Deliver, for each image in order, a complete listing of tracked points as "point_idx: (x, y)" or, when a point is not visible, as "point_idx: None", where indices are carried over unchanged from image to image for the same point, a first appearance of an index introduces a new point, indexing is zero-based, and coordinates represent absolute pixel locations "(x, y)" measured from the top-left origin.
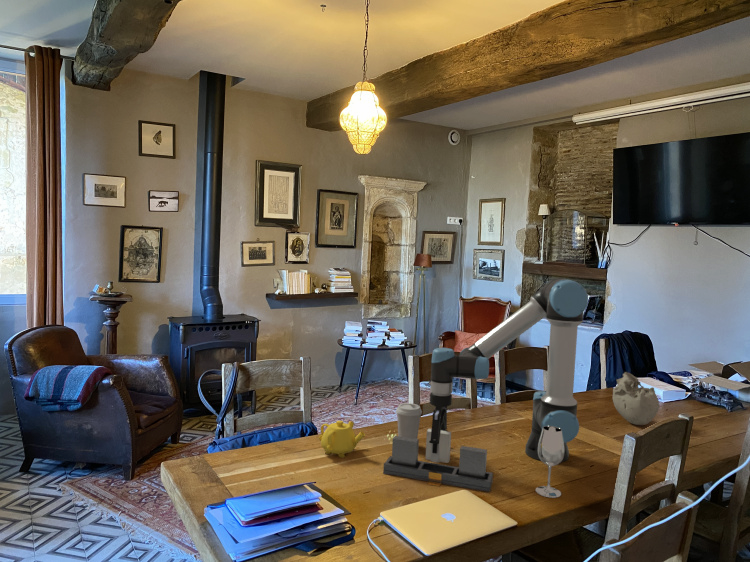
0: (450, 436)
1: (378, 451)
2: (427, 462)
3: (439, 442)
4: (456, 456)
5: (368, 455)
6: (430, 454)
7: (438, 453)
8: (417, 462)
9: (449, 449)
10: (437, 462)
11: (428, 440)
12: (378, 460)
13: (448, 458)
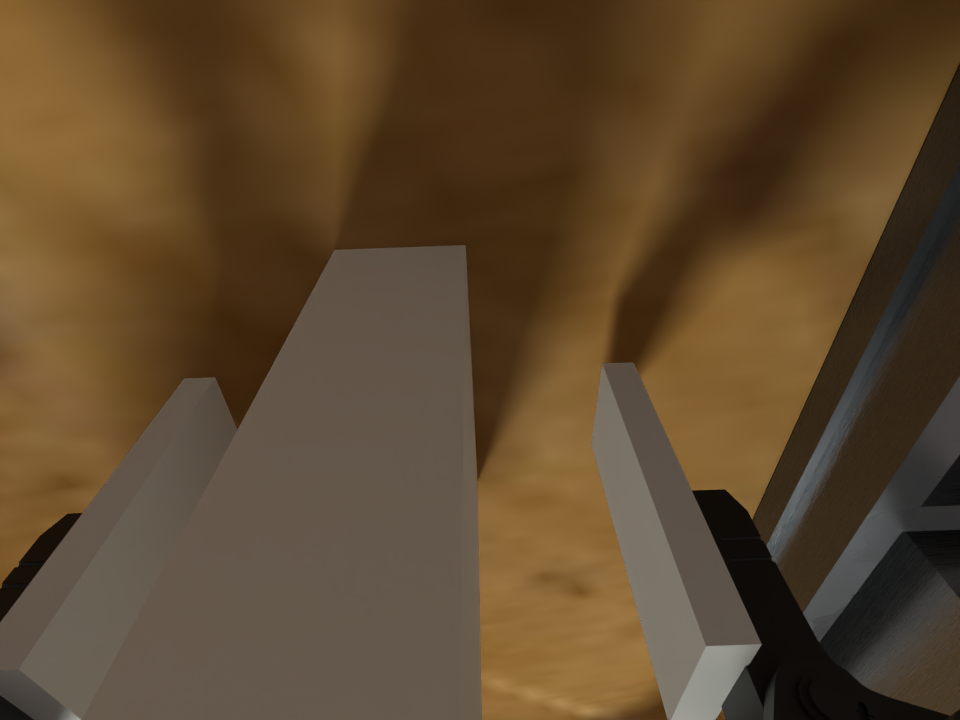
0: (246, 648)
1: (485, 703)
2: (899, 485)
3: (473, 613)
4: (121, 184)
5: (578, 715)
6: (476, 496)
7: (673, 465)
8: (945, 565)
9: (391, 357)
10: (632, 373)
11: (480, 718)
12: (644, 676)
13: (464, 276)
